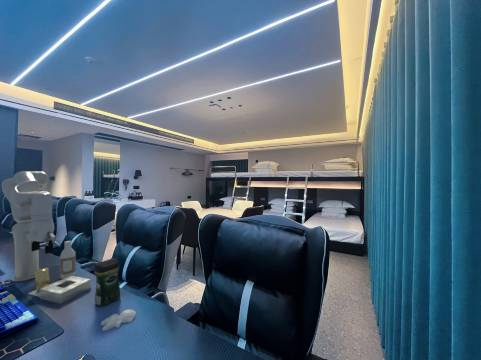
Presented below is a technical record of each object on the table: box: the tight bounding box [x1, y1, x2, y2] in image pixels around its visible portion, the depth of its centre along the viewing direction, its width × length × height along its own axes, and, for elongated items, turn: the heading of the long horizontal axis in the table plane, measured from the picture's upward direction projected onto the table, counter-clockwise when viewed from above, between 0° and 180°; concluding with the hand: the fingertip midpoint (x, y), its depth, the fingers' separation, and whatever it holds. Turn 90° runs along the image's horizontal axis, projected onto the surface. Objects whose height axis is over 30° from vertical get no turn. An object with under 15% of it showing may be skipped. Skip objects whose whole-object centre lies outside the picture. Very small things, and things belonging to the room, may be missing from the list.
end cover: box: [34, 267, 51, 293], centre depth 106 cm, size 5×5×10 cm
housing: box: [39, 275, 92, 305], centre depth 104 cm, size 14×14×4 cm
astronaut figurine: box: [100, 308, 137, 332], centre depth 84 cm, size 9×12×3 cm
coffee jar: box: [93, 257, 121, 307], centre depth 97 cm, size 10×8×19 cm
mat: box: [27, 289, 40, 298], centre depth 106 cm, size 8×8×1 cm
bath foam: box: [59, 240, 77, 280], centre depth 121 cm, size 7×7×20 cm
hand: (42, 251), depth 106 cm, fingers open, 9 cm apart
